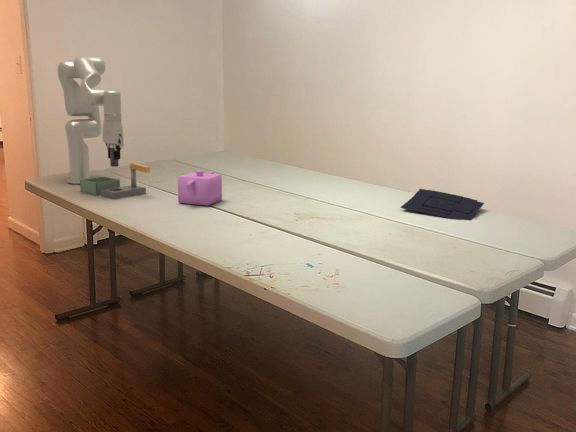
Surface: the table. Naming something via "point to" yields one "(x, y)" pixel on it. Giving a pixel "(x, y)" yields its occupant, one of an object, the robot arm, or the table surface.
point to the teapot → (200, 188)
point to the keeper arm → (140, 167)
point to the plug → (113, 162)
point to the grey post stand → (124, 189)
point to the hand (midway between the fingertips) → (114, 158)
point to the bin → (98, 184)
